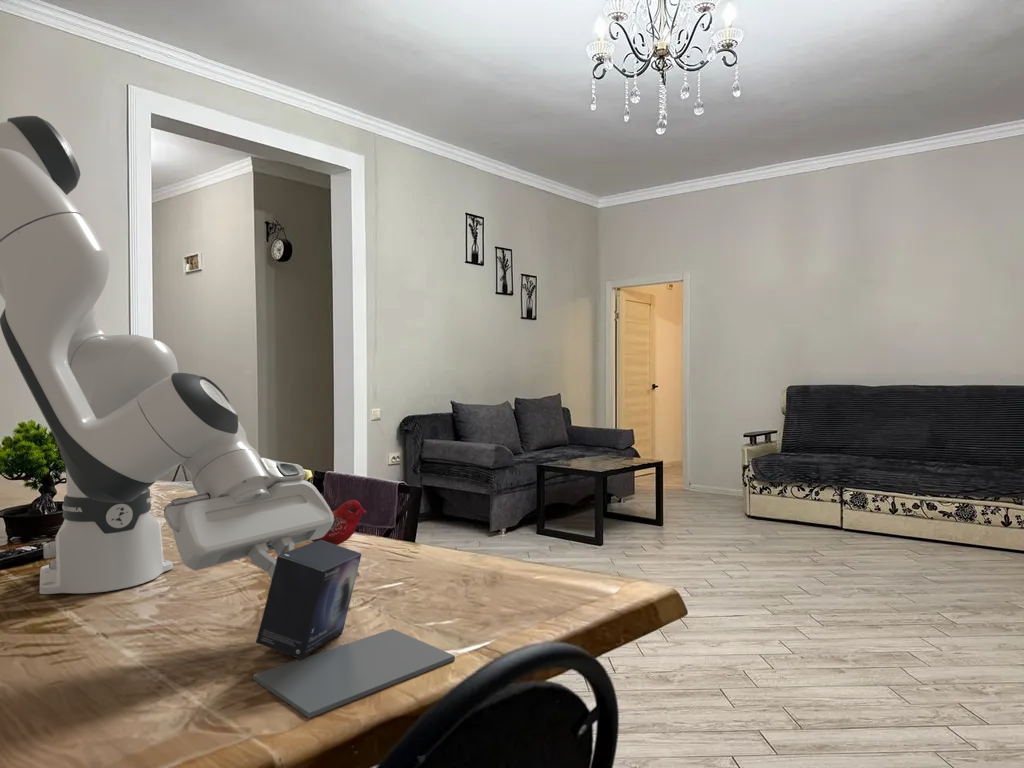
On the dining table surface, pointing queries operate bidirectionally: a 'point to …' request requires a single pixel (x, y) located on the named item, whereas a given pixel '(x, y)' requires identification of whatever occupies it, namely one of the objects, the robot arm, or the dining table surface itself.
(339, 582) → the small box
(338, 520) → the decorative bird figurine
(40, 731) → the dining table surface
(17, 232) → the robot arm
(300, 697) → the slate tile
